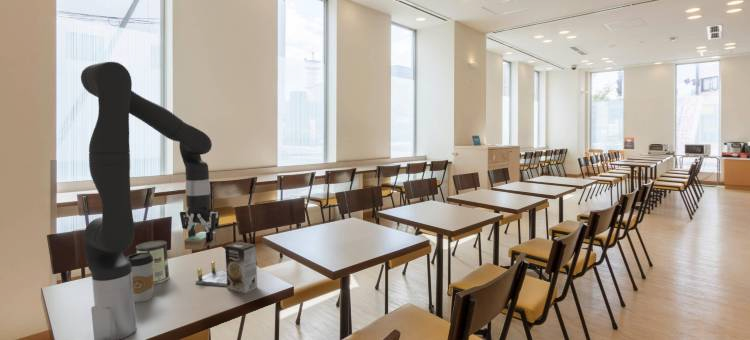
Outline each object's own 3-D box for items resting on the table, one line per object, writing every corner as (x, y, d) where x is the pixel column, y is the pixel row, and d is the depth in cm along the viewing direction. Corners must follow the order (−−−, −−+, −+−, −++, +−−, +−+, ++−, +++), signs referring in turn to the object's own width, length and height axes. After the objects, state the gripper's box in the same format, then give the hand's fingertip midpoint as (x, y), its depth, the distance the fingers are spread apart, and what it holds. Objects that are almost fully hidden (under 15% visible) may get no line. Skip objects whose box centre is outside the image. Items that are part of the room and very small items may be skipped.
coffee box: (226, 289, 141) (224, 245, 140) (240, 282, 147) (238, 240, 145) (244, 293, 137) (242, 248, 135) (258, 287, 143) (256, 243, 141)
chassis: (228, 286, 143) (228, 273, 143) (195, 283, 147) (194, 270, 146) (245, 275, 154) (245, 262, 154) (214, 273, 157) (213, 260, 157)
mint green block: (201, 249, 128) (200, 239, 128) (184, 249, 129) (184, 239, 129) (216, 240, 138) (215, 232, 138) (201, 240, 139) (200, 231, 139)
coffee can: (153, 273, 157) (151, 239, 156) (175, 276, 155) (173, 241, 153) (132, 283, 147) (129, 247, 146) (154, 286, 145) (152, 249, 143)
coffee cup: (124, 305, 129) (120, 261, 128) (132, 294, 137) (128, 253, 136) (152, 301, 132) (149, 258, 130) (158, 292, 140) (155, 251, 138)
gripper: (171, 194, 130) (175, 243, 132) (209, 195, 126) (212, 246, 128) (187, 190, 137) (190, 237, 139) (224, 191, 134) (226, 240, 135)
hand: (201, 241), depth 134 cm, fingers closed on mint green block, 6 cm apart
